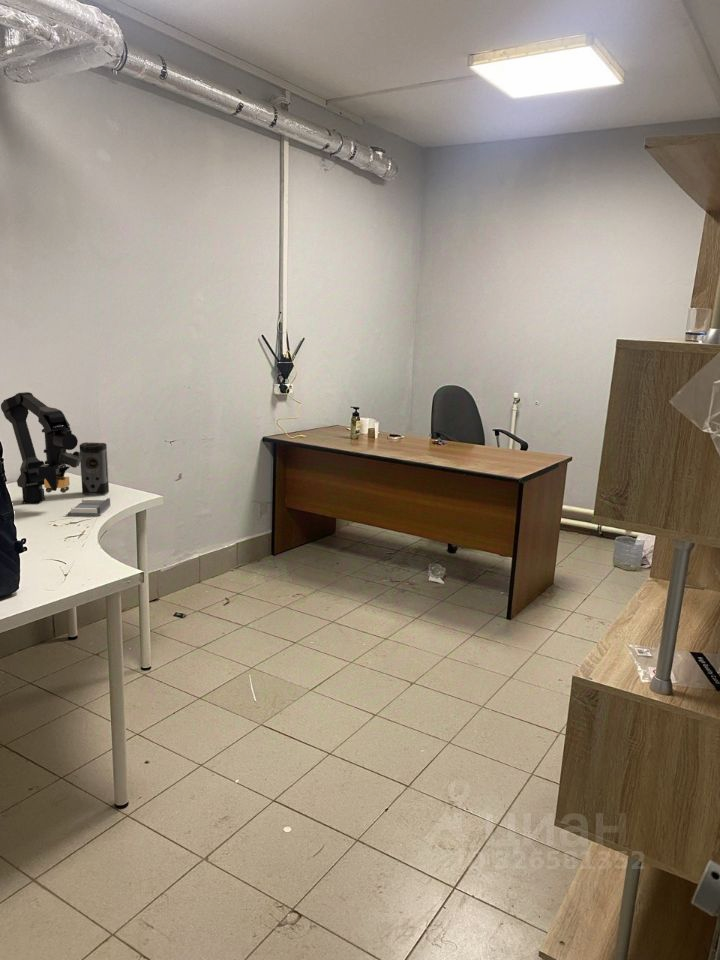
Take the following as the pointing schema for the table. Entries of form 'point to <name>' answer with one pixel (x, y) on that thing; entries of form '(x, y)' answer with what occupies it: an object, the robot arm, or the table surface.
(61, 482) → the trolley
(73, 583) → the table surface
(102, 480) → the electronic device
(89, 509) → the dock
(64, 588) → the table surface
